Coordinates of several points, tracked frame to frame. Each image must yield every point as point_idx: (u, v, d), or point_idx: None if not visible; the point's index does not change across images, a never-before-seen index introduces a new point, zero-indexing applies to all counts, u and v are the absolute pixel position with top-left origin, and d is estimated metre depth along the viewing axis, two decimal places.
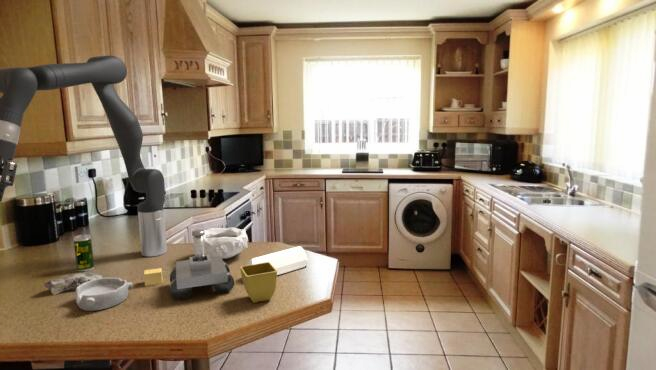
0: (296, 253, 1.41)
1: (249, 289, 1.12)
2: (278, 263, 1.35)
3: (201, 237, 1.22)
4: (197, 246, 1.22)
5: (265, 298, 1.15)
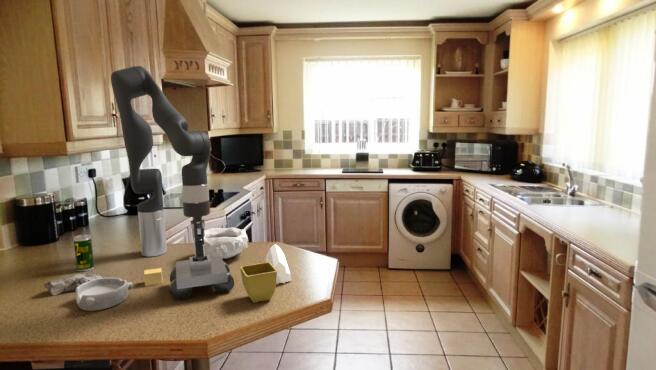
0: (280, 250, 1.45)
1: (249, 289, 1.12)
2: (285, 261, 1.37)
3: None
4: None
5: (265, 298, 1.15)
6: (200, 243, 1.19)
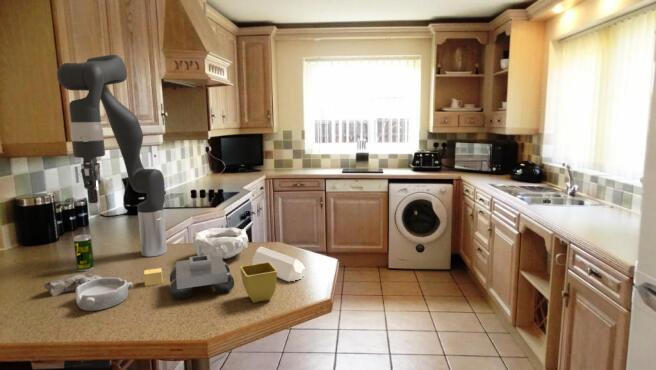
0: None
1: (249, 289, 1.12)
2: None
3: None
4: None
5: (265, 298, 1.15)
6: (90, 186, 1.09)
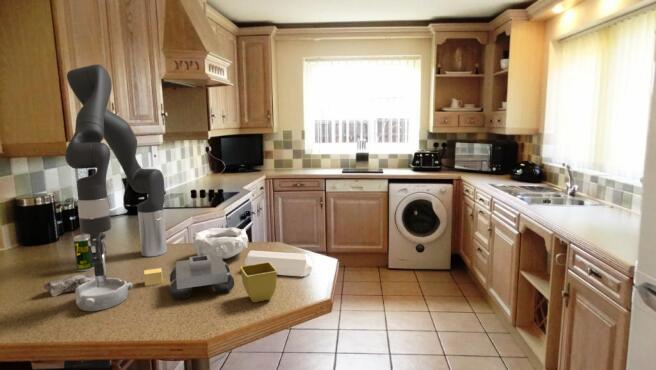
0: None
1: (249, 289, 1.12)
2: None
3: None
4: None
5: (265, 298, 1.15)
6: (97, 261, 1.12)
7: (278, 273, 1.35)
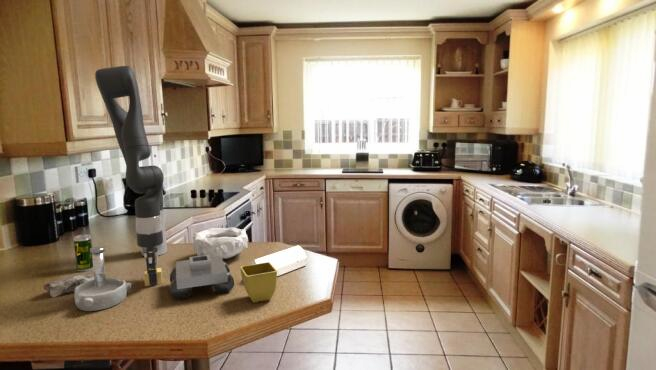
0: None
1: (249, 289, 1.12)
2: None
3: (100, 254, 1.15)
4: (95, 264, 1.15)
5: (265, 298, 1.15)
6: (152, 272, 1.26)
7: (289, 270, 1.37)
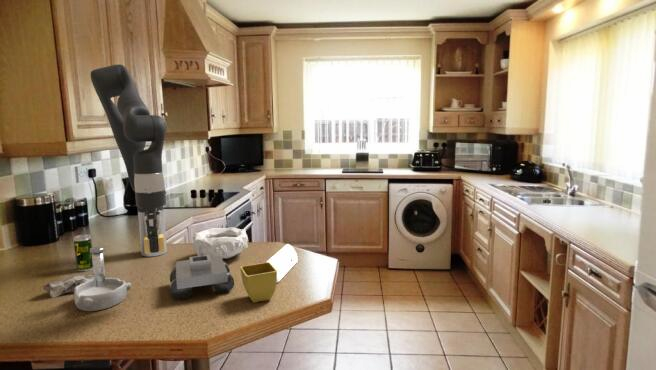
0: None
1: (249, 289, 1.12)
2: None
3: (100, 254, 1.15)
4: (95, 264, 1.15)
5: (265, 298, 1.15)
6: (153, 237, 1.09)
7: (290, 268, 1.39)
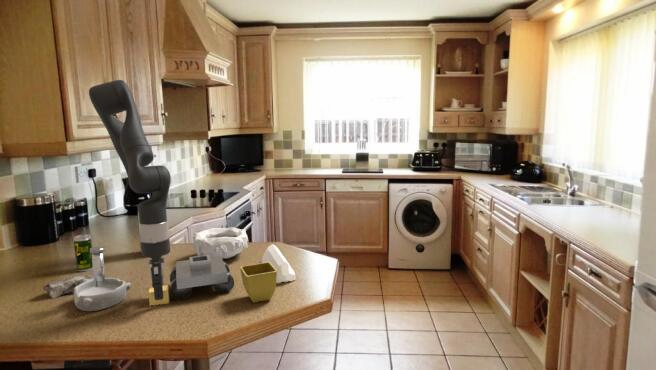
0: (276, 263, 1.31)
1: (249, 289, 1.12)
2: (269, 260, 1.39)
3: (99, 254, 1.15)
4: (95, 264, 1.15)
5: (265, 298, 1.15)
6: (158, 285, 1.10)
7: None
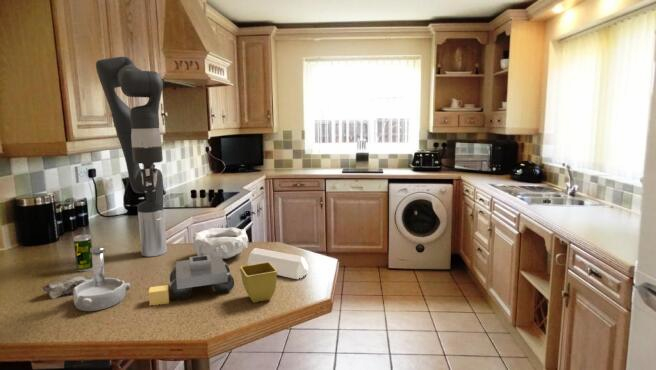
0: (291, 260, 1.33)
1: (249, 289, 1.12)
2: (269, 262, 1.37)
3: (99, 254, 1.15)
4: (94, 264, 1.15)
5: (265, 298, 1.15)
6: (150, 189, 1.08)
7: None
